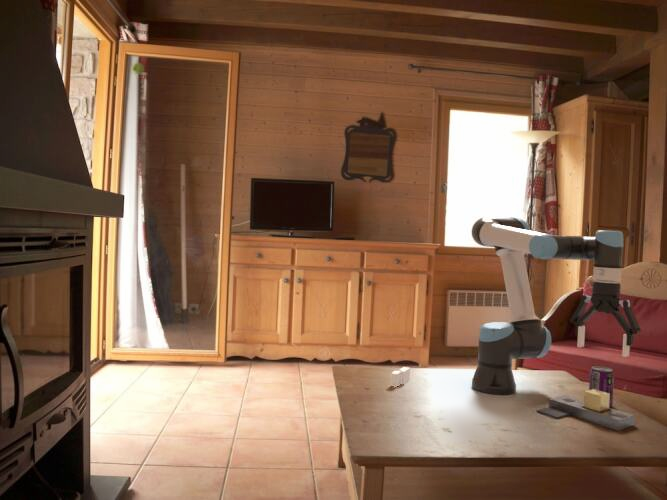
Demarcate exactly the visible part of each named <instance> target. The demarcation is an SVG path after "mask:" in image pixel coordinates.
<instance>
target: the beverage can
mask: <svg viewBox="0 0 667 500" xmlns="http://www.w3.org/2000/svg"><path fill="white" fill-rule="evenodd" d="M613 371H614V370H613V369H612V368H609V367H605V366H591V370H590V372H589V381H588V382H589V385H588V390H593V389H595V390H598V391H602V392H606V393H610V399H609V407H611V406H613V403H614V402H613V401H614V399H613V398H614V381H615V375H614V373H613Z"/></svg>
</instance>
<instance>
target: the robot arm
mask: <svg viewBox="0 0 667 500" xmlns="http://www.w3.org/2000/svg"><path fill="white" fill-rule="evenodd" d="M471 237H472V239H473V241H474V242H475V243H476V244H477V245H479V246H482V247H487V248H488V247H489V248H490V247H491V248H494V253H495V255H497V256H498V257H499V258H500V262H501V267H502V275H503V279H504V285H505V290H506V291H505V292H506V296H507V297H506V298H507V302H508V308H509V315H510V319H509V321H508V322H506V321H499V322H498V321H492V322H487V323H484V324H482V325H480V327H479V332H478V349H477V351H478V352H477V354H478V356H477V366H476V369H475V372H474V374H473V378H472V380H471V388H472V389H474V390H475V391H478V392H481V393H485V394H491V395H505V396H506V395H512V394H515V393H516V392H517V384H516V382H515V378H514V373H513V370H512V369H513V368H512V367H513V360H516V359H517V360H520V359H525V360H526V359H531V360H533V359H537V358H543V357H544V356H546V355H547V354H548V353H549V350H550V349H551V346H552V335H551V331H550V330H549V329H548V328H547V327H546V326H544V325H542V322H541V321H542V319H541V318H540V317H538V316H537V315H536V313H535V307H534V302H533V298H532V290H531V286H530V281H529V276H528V275H529V274H528V271H527V265H526V259H525V254H529V255H532V257H533V258H535V259H539V260H540V259H541V260H572V261H573V260H574V261H575V260H576V261H593V273H592V279H593V280H594V281H593V282H592V288H591V289H592V290H591V292H592V295H591V296H590V295H589V294H583V295H581V298H580V302H579V304H578V305H577V307H576V309H575V311H574V312H573V314H572V316H571V318H570V319H569V322H570V323H571V324H574V325H575V333H574V334H575V336H576V337H577V341H576V343H577V344H576V346H577V348H584V347H585V340H586V339H585V336H586V326H585V325H584V324H585V323H586V322H588V320H589V319H590V318H591V317H593V315H594V314H595V313H596V312H599V313H605V314H611V315H612V316H613V317H614V318H615V320H616V321H617V323H618V324H619V325H620V327H621V328H622V329H623V331H624V332H625V333H624V334H623V335H622V336H623V337H622V351H621V353H622V354H621V357H623V358H627V357H630V350H631V347H632V346H633V345H634V337H635V335H636V334H641V333H642V330H641V327H640V325H639V322H638V320H637V317H636V315H635V314H634V311H633V308H632V301H631V300H629V299H625V300H621V297H620V296H621V285H622V284H621V283H620V282H621V281H622V267H623V266H622V265H623V255H624V254H623V253H624V234H623V232H622V231H620V230H596V232H595V235H594V236H584V235H559V234H558V235H557V234H548V233H543V232H539V231H532V230H531V228H530V226H529V224H528V223H527V222H526V221H525V220H524V219H522V218H516V217H501V216H500V217H499V216H484V217H481V218H479V219H477V220H476V221H475V222H474V224H473V225H472V227H471ZM590 302H591V303H592V305H591V306H590V307H589V308H588V310H587V311H586V312H585V309H586V308H587V306H588V304H589V303H590ZM619 306H621V308H622V309H623V311H624V313H625V316H626V317H625V316H624V315H623V314H622V311H621V310H620V308H619ZM584 312H585V313H584ZM583 313H584V314H583ZM582 314H583V315H582ZM626 318H627V319H626Z"/></svg>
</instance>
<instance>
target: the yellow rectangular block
mask: <svg viewBox="0 0 667 500" xmlns="http://www.w3.org/2000/svg"><path fill="white" fill-rule="evenodd" d="M583 399H584V408H585V409H588V410H591V411H595V412H598V413H605V412H608V411H609V408H610V406H609V399H610V393H606V392H602V391H598V390H595V389H593V390H589V389H588V390H585V391H584V398H583Z"/></svg>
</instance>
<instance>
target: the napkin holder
mask: <svg viewBox="0 0 667 500" xmlns="http://www.w3.org/2000/svg"><path fill="white" fill-rule="evenodd" d="M410 370H411V367H408V366H407V367H406V366H403V367H400V368H399V370H393V371H392V372H391V373H390V386H391V385H393V386H398V385H399V384H401V383H402V384H405V383H406V382H407V381H408V382H410V375H411V374H410V373H411V372H410ZM408 382H407V383H408ZM407 383H406V384H407ZM406 384H405V385H406Z"/></svg>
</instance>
